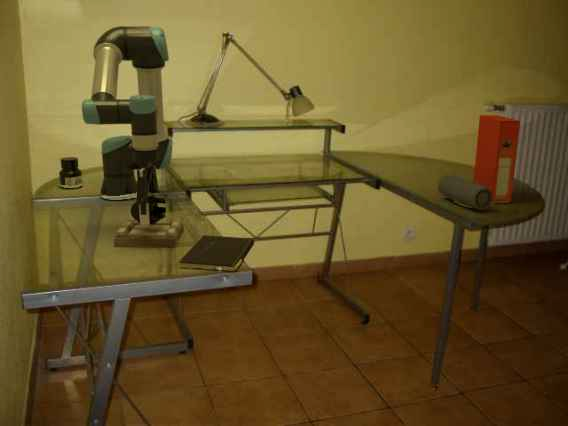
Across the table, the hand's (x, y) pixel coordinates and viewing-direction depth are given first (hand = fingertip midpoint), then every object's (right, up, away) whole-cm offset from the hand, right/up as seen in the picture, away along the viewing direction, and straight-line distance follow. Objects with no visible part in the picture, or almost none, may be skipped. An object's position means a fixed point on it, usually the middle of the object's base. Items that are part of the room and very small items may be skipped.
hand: (149, 218), depth 180 cm
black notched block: (0, 0, 0) cm, 0 cm away
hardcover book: (+23, -11, -11) cm, 28 cm away
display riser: (0, -6, +2) cm, 6 cm away
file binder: (+124, +8, +53) cm, 135 cm away
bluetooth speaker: (+110, +5, +43) cm, 119 cm away
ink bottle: (-47, +12, +63) cm, 80 cm away
